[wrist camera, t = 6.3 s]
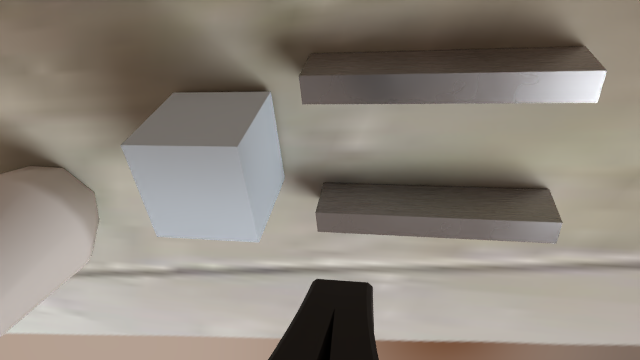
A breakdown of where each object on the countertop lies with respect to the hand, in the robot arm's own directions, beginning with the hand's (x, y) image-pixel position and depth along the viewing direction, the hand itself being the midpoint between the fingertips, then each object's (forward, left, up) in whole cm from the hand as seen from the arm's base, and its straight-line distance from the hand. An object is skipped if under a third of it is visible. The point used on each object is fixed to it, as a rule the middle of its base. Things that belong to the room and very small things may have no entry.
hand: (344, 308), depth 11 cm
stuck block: (+6, -1, -8) cm, 10 cm away
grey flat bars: (-2, 0, -8) cm, 9 cm away
